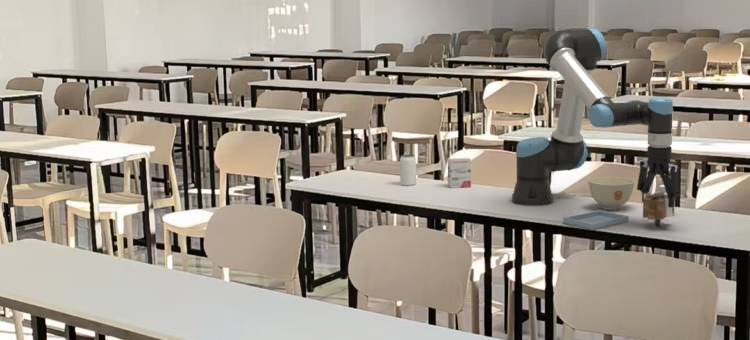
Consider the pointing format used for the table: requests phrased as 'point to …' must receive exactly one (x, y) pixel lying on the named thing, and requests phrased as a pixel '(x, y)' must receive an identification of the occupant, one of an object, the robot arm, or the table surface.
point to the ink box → (459, 172)
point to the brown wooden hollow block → (654, 207)
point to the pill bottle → (662, 189)
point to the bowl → (611, 191)
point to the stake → (658, 197)
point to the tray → (596, 220)
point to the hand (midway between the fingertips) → (657, 214)
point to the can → (407, 170)
